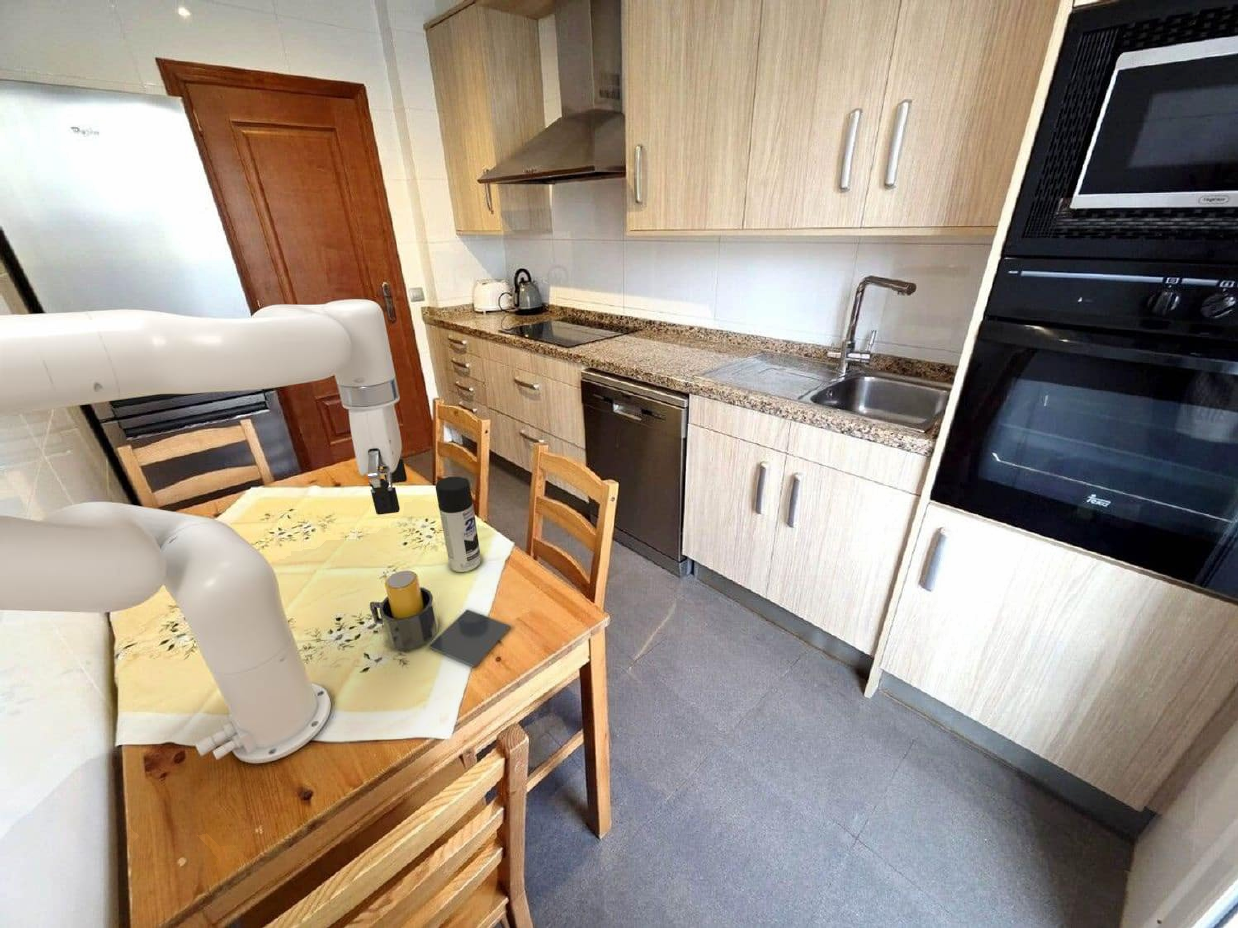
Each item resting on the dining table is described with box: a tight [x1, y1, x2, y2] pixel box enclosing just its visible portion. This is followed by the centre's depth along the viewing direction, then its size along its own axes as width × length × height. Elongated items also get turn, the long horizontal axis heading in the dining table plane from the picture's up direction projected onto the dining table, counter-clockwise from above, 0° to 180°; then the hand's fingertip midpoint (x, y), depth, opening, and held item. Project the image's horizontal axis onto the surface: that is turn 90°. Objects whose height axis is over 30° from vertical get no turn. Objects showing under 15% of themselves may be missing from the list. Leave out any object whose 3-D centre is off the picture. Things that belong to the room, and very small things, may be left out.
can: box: [384, 570, 424, 619], centre depth 88 cm, size 5×5×12 cm
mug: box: [369, 586, 439, 652], centre depth 89 cm, size 12×9×7 cm
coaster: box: [428, 609, 511, 669], centre depth 90 cm, size 10×10×1 cm
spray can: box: [435, 476, 482, 573], centre depth 105 cm, size 7×7×20 cm
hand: (392, 496), depth 79 cm, fingers open, 9 cm apart
